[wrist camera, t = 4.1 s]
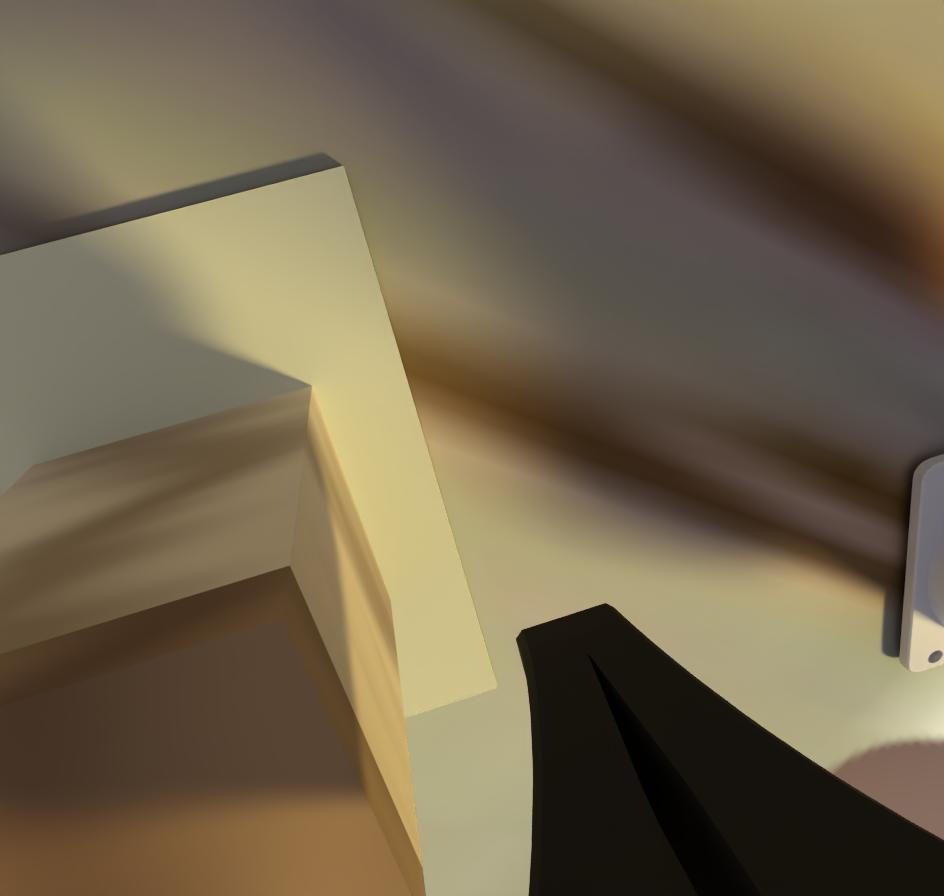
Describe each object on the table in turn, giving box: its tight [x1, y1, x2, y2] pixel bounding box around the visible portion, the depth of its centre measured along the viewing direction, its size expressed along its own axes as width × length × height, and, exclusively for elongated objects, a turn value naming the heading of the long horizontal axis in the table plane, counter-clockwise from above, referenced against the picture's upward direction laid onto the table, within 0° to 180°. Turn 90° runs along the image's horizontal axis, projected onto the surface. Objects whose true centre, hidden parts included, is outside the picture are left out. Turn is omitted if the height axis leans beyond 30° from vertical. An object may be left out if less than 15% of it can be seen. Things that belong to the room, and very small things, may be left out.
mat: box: [0, 166, 498, 718], centre depth 15 cm, size 18×14×1 cm
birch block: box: [0, 386, 426, 896], centre depth 11 cm, size 6×6×8 cm
